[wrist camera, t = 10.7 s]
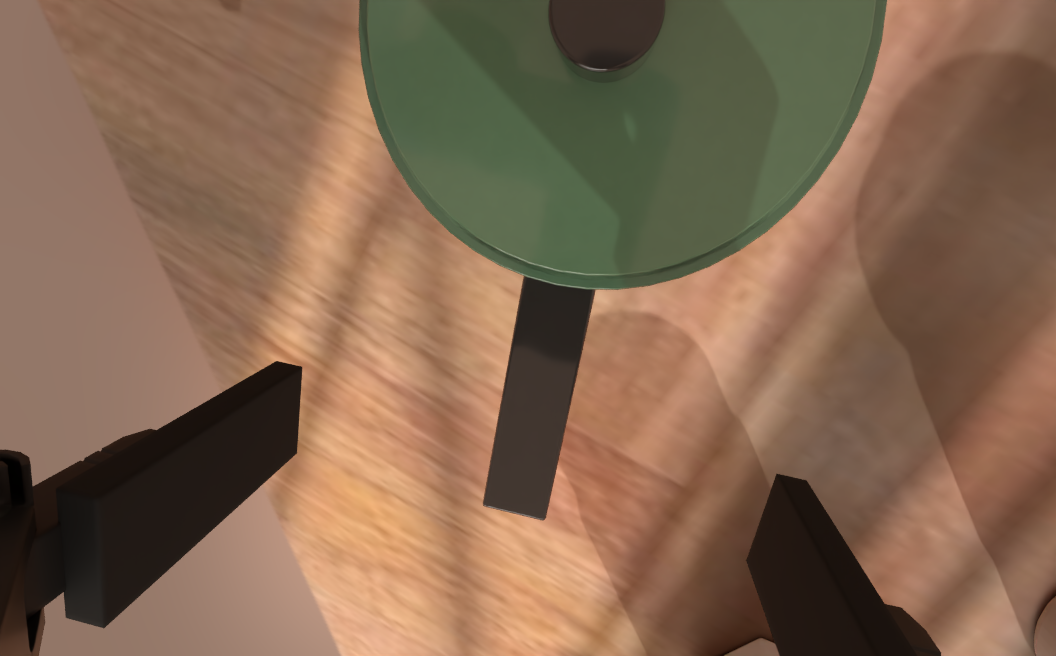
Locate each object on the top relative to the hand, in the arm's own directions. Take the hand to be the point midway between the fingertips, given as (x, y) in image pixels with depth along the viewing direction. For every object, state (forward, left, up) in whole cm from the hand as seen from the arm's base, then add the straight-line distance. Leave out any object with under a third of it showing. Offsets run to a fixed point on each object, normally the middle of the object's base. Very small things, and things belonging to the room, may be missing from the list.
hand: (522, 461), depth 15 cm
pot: (-7, 0, -9) cm, 11 cm away
